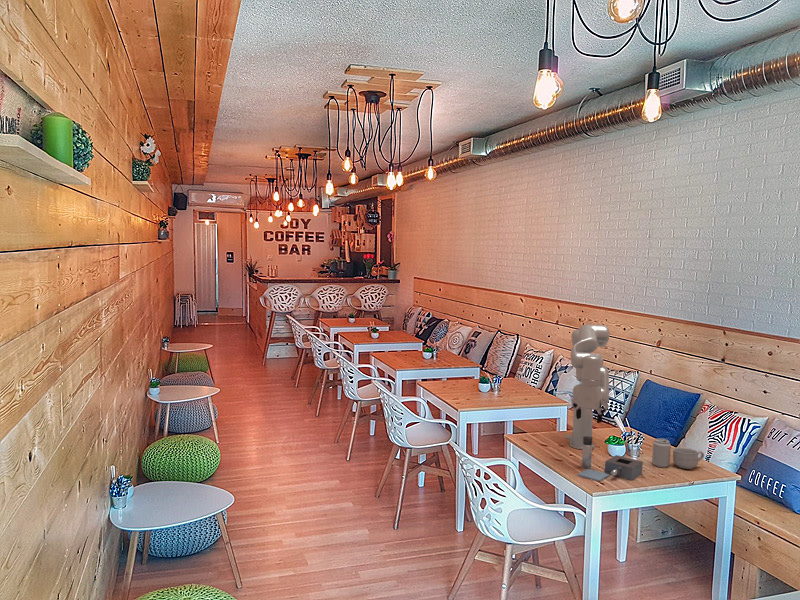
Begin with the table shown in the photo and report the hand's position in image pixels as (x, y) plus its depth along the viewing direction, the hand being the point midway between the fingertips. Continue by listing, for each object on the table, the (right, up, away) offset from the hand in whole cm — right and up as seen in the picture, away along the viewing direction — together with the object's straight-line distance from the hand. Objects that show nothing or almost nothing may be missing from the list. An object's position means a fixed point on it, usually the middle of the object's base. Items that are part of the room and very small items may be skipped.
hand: (588, 420), depth 273 cm
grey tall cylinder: (-1, -22, +2) cm, 22 cm away
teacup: (+48, -23, +6) cm, 54 cm away
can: (+36, -23, +8) cm, 43 cm away
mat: (-1, -23, -9) cm, 24 cm away
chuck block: (+12, -23, -7) cm, 27 cm away
